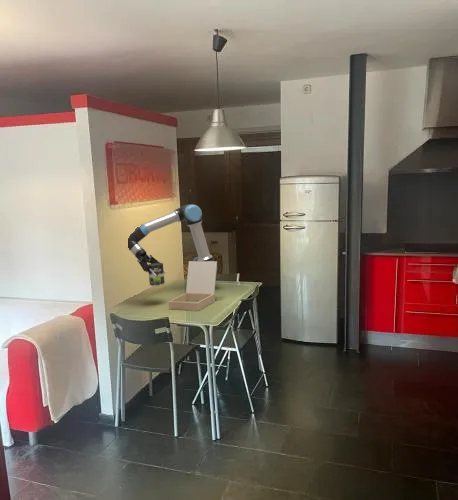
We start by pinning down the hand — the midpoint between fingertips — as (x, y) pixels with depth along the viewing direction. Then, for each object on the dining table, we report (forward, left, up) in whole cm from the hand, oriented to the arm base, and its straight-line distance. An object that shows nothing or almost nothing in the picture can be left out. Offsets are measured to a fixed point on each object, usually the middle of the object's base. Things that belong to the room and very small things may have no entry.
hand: (160, 275), depth 304 cm
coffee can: (0, -3, -7) cm, 7 cm away
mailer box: (-4, +23, -20) cm, 31 cm away
